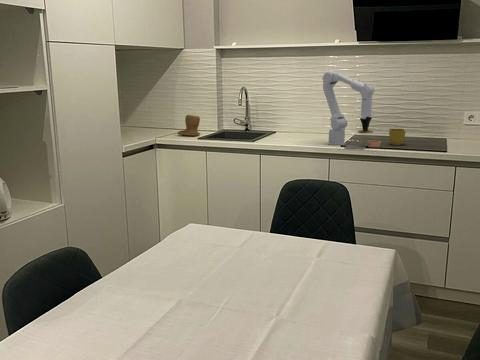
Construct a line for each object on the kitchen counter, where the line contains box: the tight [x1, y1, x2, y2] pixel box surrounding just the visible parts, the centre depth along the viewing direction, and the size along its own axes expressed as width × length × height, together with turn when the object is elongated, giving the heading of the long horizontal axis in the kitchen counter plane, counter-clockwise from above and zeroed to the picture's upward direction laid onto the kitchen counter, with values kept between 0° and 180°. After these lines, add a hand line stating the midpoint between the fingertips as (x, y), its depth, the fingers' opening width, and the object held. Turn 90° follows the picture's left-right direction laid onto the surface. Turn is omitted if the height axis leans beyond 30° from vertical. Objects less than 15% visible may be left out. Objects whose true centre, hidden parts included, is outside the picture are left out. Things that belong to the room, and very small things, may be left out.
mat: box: [343, 144, 368, 151], centre depth 284 cm, size 11×11×1 cm
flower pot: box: [388, 128, 407, 146], centre depth 290 cm, size 9×9×9 cm
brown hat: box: [176, 114, 201, 137], centre depth 344 cm, size 15×12×15 cm
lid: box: [357, 127, 374, 134], centre depth 283 cm, size 9×9×4 cm
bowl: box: [366, 139, 382, 148], centre depth 286 cm, size 8×8×3 cm
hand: (365, 130), depth 283 cm, fingers closed on lid, 3 cm apart
